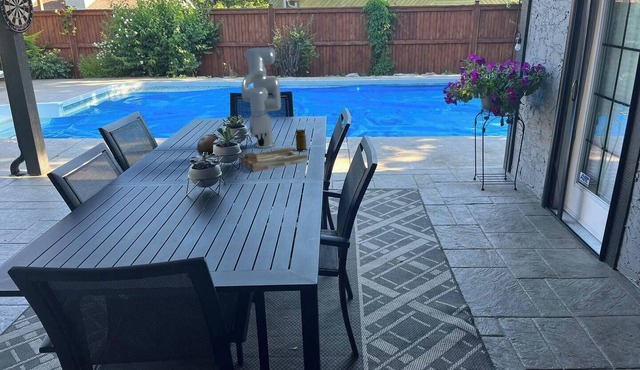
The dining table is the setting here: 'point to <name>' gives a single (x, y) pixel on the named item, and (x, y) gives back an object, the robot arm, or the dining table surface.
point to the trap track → (273, 159)
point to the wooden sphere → (206, 144)
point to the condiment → (300, 140)
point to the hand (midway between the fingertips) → (261, 145)
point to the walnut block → (251, 157)
